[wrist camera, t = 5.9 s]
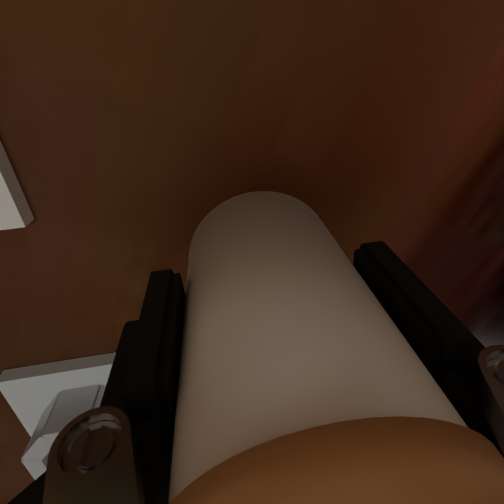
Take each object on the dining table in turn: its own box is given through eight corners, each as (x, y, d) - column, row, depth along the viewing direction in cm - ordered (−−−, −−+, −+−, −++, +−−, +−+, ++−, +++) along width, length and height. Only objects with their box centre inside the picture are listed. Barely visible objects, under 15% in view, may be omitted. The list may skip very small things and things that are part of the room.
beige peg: (335, 177, 11) (829, 633, 2) (329, 305, 14) (545, 735, 5) (170, 197, 11) (14, 820, 2) (198, 324, 13) (184, 820, 5)
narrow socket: (148, 347, 22) (139, 399, 18) (176, 432, 26) (172, 488, 23) (3, 370, 21) (-36, 429, 18) (56, 453, 25) (33, 514, 22)
